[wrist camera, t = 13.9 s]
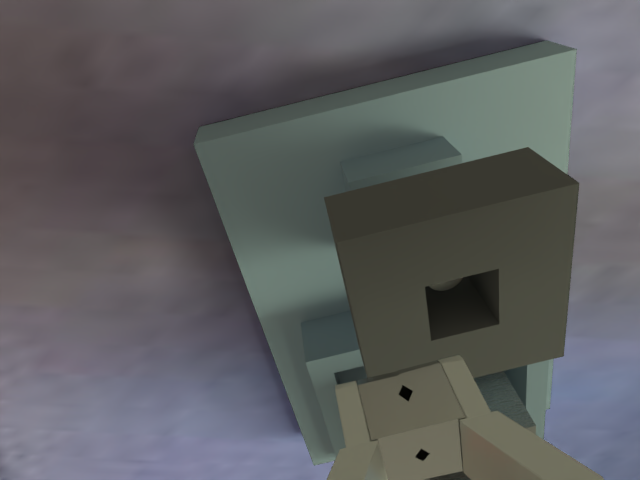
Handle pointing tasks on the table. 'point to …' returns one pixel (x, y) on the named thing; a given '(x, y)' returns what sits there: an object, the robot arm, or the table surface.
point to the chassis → (358, 172)
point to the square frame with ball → (459, 263)
